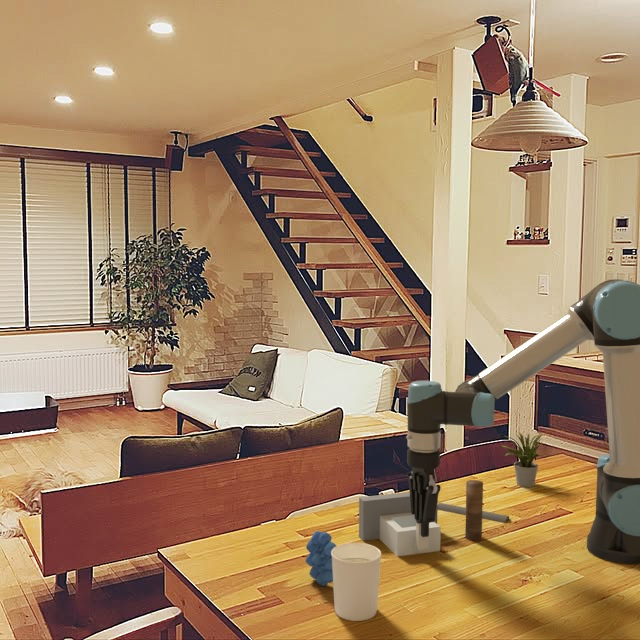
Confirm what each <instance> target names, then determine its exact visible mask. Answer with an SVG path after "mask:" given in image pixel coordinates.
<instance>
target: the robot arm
mask: <svg viewBox="0 0 640 640" xmlns="http://www.w3.org/2000/svg"><path fill="white" fill-rule="evenodd" d="M587 341H594V347H596V348H597V349H598V350H600V352H601V354H602V360H603V361H602V363H603V365H602V366H603V377H604V378H603V379H604V391H605V392H604V394H605V406H606V420H607V421H606V422H607V436H608V449H609V450H608V451H609V454H602V455H600V456H599V457H598V458H597V459H598V460H597V465H596V470H597V471H596V472H597V473H596V494H595V496H596V497H595V517H594V519H593V522H592V524H591V528H590V531H589V533H588V535H587V536H586V537H587V538H586V549H587V550H588V551H589V552H590V553H591V554H592V555H594V556H595V557H598V558H600V559H602V560H606V561H609V562H613V563H618V564H626V565H640V284H638V283H636V282H634V281H631V280H623V279H609V280H605V281H602V282H601V283H599V284H596V286H594V287H593V288H592V289H591V290H590V291H588V293H586V294H585V295H584V296H582V297H581V298H580V299H579V300H578V301H576V302H575V303H573V304H572V305H570V306H569V307H568V312H567V313H566V314H565V315H563V316H562V317H561V318H559V319H557V320H556V321H555V322H553V323H552V324H550V325H548V326H547V327H545V328H544V329H543V330H541V331H540V332H538V333H537V334H536V335H533V336H532V337H531V338H529V339H528V340H526V341H525V342H524V343H522V344H520V345H519V346H518V347H516V348H515V349H513V350H512V351H510V352H509V353H507V354H506V355H504V356H503V357H501V358H500V359H498V360H497V361H496V362H494V363H492V364H491V365H489V366H488V367H487V368H485V369H483V370H482V371H480V372H479V373H478V374H477V375H475V376H473V377H472V378H470V379H467V380H465V381H463V382H461V383H460V384H459V385H458V386H457V388H456V389H455V391H445V390H443V389H442V385H441V383H440V382H438V381H433V380H432V381H431V380H416V381H412V382H411V383H410V384H409V385H408V394H407V435H406V436H405V438H406V440H407V448H408V449H407V451H406V463H407V465H408V466H409V467H410V468H411V471H408V472H406V476H407V481H408V489H409V491H408V492H410V502H411V513H412V515H415V520H416V549H417V550H424V549H429V523H430V522H434V521H435V514H436V507H437V500H438V501H439V499H438V498H439V494H440V491H441V485H440V484H436V482H435V480H436V476H435V469H437V468H438V467H440V465H441V451H440V448H441V433H442V432H441V425H446V426H448V425H451V426H452V425H453V426H465V427H476V428H481V427H491V426H493V425H494V423H495V401H497V400H498V399H500V398H501V397H503V396H504V395H506V394H507V393H509V392H510V391H512V390H513V389H515V388H517V387H518V386H519V385H522V384H523V383H524V382H526V381H527V380H529V379H530V378H532V377H533V376H535V375H536V374H538V373H539V372H541V371H543V370H544V369H546V368H547V367H549V366H550V365H552V364H553V363H554V362H557V361H558V360H559V359H561V358H562V357H564V356H566V355H567V354H568V353H570V352H571V351H574V349H576V348H578V347H580V345H582V344H584V343H585V342H587Z"/></svg>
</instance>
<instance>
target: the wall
mask: <svg viewBox="0 0 640 640" xmlns="http://www.w3.org/2000/svg"><path fill="white" fill-rule="evenodd" d="M438 502H439V499H438V500H437V507H436V514H435V521H434V522H435V523H436V524H438V511H439V510H438V504H439V503H438ZM409 512H411V502H410V491H408V492H398V493H397V492H396V493H388V494H378V495H369V496H360V497H358V537H359V538H360V539H361V541H363V542H365V541H372V540H373V541H374V540H380V516H382V515H391V514H400V513H409Z"/></svg>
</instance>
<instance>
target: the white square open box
mask: <svg viewBox="0 0 640 640" xmlns="http://www.w3.org/2000/svg"><path fill="white" fill-rule="evenodd" d="M379 540H380V541H381V542H382V543H383V544H384V545H385V546H386V547H387V548H388V549H389V550H390V551H391V552H392V553H393V554H394V555H395V556H396V557H405V556H411V555H419V554H425V553H433V552H441V526H440V525H439V524H438V523H437V524H436V523H435V522H430V523H429V549H424V550H417V549H416V520H415V515H412V513H411V512H409V513H400V514H391V515H382V516H380V539H379Z"/></svg>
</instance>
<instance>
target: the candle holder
mask: <svg viewBox="0 0 640 640" xmlns="http://www.w3.org/2000/svg"><path fill="white" fill-rule="evenodd" d="M331 556H332V572H333V582H332V587H333V602H334V603H333V604H334V611H335V612H334V613H335V614H336V615H337V616H338V617H339V618H341V619H343V620H345V621H352V622H360V621H367V620H370V619H372V618H374V617H375V616H376V615H377V612H378V604H379V601H378V600H379V587H380V573H381V559H382V551H381V550H380V548H378V547H376V546H374V545H372V544H369V543H364V542H347V543H342V544H338V545H336V547H335V548H333V549H332V551H331Z"/></svg>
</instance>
